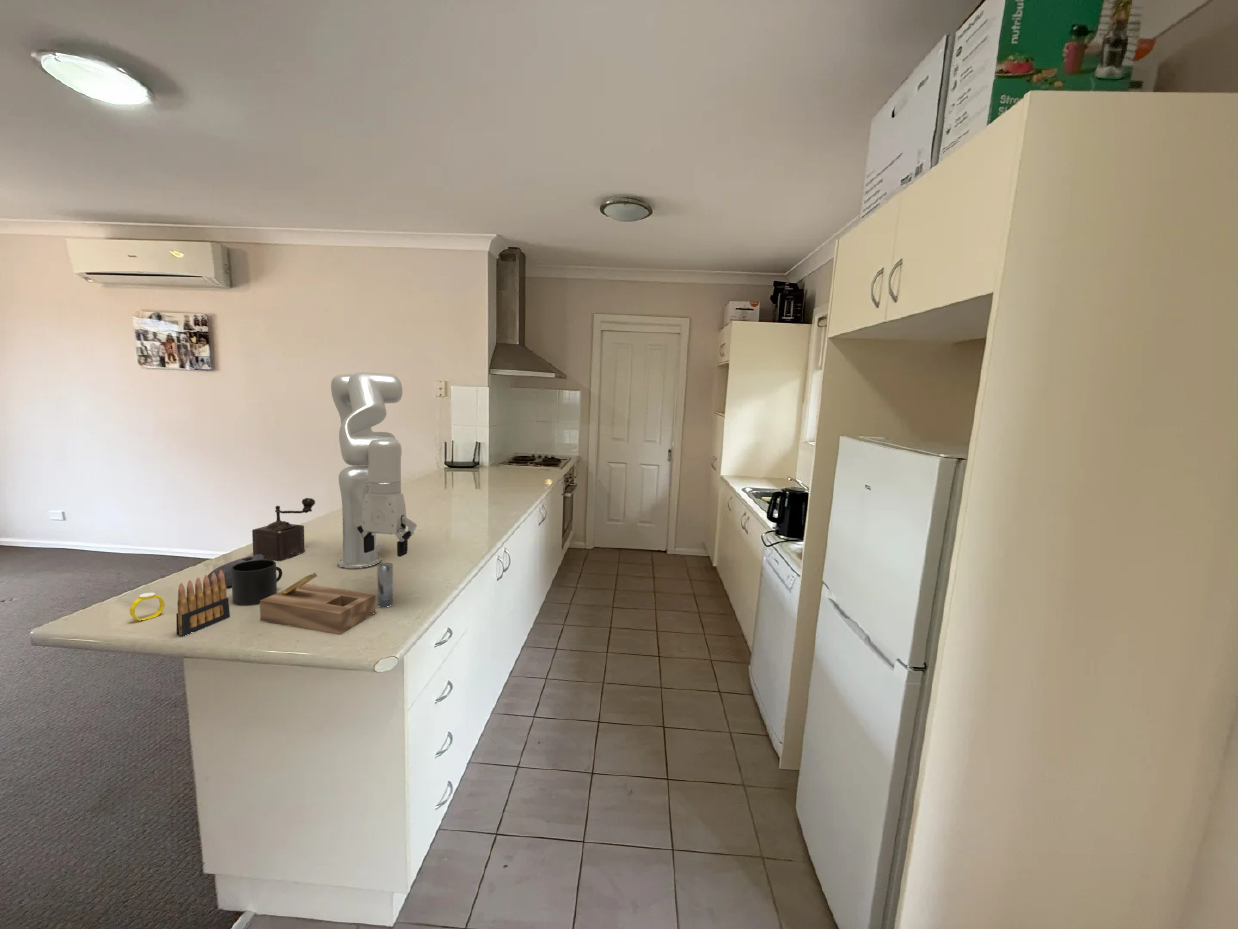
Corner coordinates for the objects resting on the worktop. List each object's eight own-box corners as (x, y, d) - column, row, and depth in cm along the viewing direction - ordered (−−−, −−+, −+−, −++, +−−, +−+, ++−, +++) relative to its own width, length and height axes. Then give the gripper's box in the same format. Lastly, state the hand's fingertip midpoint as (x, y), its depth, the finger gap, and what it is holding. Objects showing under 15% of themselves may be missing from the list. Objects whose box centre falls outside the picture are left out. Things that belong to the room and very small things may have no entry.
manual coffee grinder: (281, 561, 158) (279, 506, 156) (251, 557, 160) (249, 503, 158) (319, 548, 173) (318, 497, 171) (291, 544, 175) (290, 494, 173)
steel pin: (383, 601, 134) (383, 561, 132) (395, 603, 133) (395, 563, 131) (374, 606, 130) (374, 566, 129) (386, 608, 129) (386, 567, 128)
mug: (294, 592, 136) (293, 560, 135) (248, 608, 125) (247, 573, 124) (270, 586, 139) (269, 554, 138) (223, 601, 128) (222, 567, 127)
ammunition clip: (224, 616, 120) (221, 568, 119) (230, 617, 120) (228, 569, 119) (176, 635, 110) (173, 583, 109) (182, 637, 110) (179, 585, 108)
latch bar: (294, 590, 125) (292, 587, 125) (317, 576, 123) (315, 572, 123) (283, 595, 122) (281, 592, 122) (307, 580, 120) (304, 577, 120)
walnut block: (301, 601, 131) (301, 583, 130) (375, 613, 126) (375, 594, 126) (260, 620, 119) (259, 600, 118) (340, 634, 115) (339, 613, 114)
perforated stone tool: (211, 594, 132) (209, 569, 131) (200, 590, 134) (199, 565, 133) (271, 578, 145) (271, 555, 144) (261, 574, 147) (260, 551, 147)
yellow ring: (159, 614, 120) (160, 589, 120) (166, 616, 119) (167, 592, 119) (127, 622, 115) (128, 596, 114) (134, 624, 114) (135, 599, 113)
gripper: (344, 487, 125) (345, 554, 127) (406, 493, 122) (406, 561, 124) (365, 483, 133) (366, 546, 135) (424, 488, 129) (424, 552, 131)
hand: (385, 553), depth 129 cm, fingers open, 9 cm apart
